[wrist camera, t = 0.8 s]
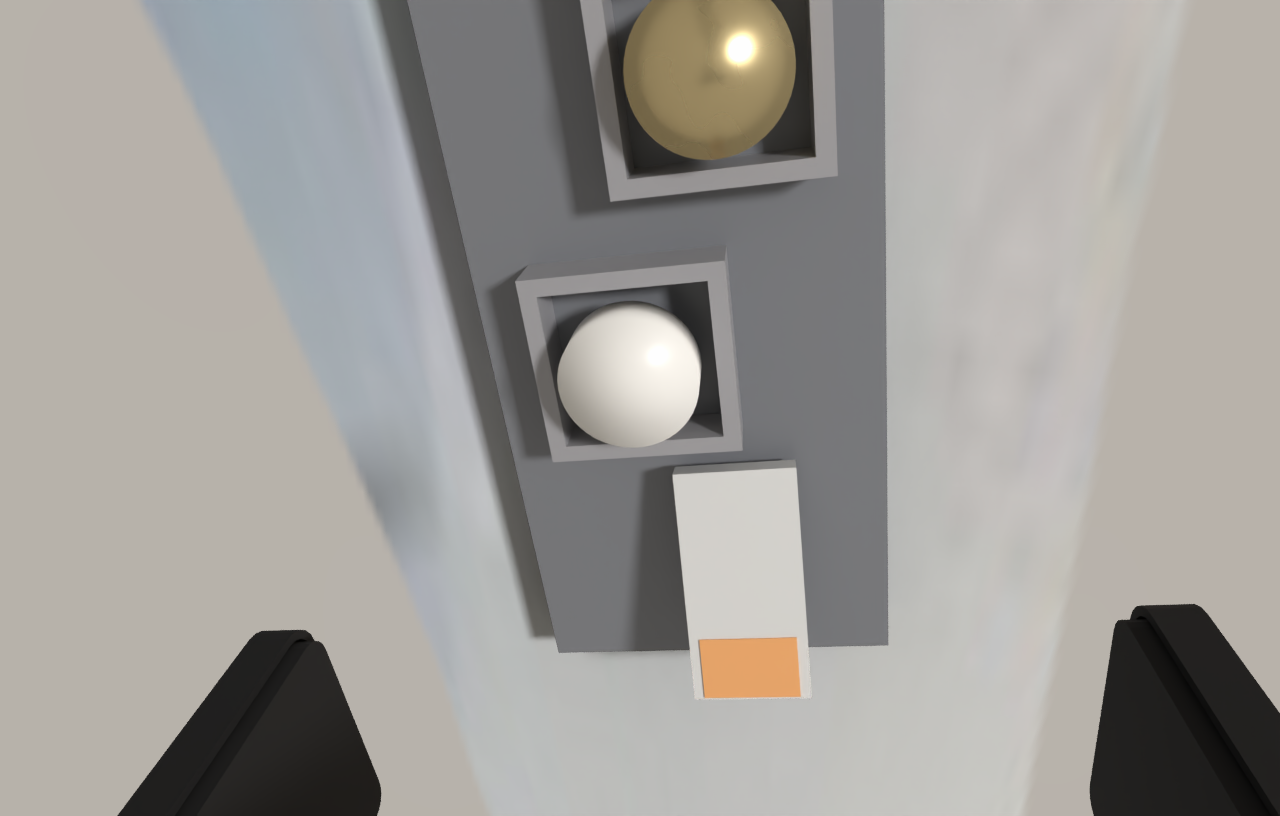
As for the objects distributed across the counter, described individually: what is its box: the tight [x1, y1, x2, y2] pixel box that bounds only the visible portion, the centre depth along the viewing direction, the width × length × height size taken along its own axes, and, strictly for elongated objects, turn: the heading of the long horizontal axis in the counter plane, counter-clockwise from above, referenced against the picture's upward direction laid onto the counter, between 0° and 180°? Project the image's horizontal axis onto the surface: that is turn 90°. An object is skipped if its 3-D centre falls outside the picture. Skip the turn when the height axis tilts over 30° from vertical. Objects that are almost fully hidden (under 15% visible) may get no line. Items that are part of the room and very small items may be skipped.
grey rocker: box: [672, 460, 812, 700], centre depth 31 cm, size 9×4×1 cm, turn 8°
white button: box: [557, 301, 702, 448], centre depth 27 cm, size 5×5×2 cm
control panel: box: [407, 0, 888, 653], centre depth 29 cm, size 28×14×4 cm, turn 8°
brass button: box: [623, 0, 796, 160], centre depth 23 cm, size 5×5×2 cm
